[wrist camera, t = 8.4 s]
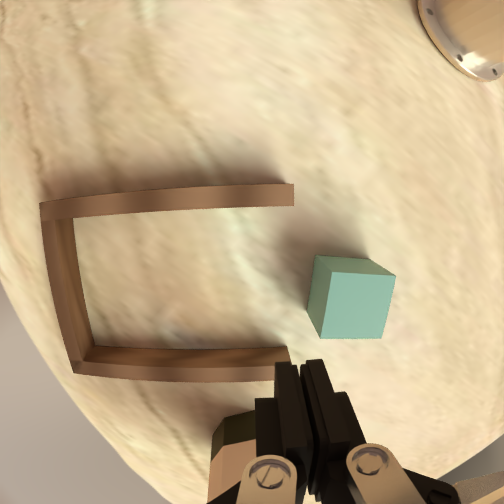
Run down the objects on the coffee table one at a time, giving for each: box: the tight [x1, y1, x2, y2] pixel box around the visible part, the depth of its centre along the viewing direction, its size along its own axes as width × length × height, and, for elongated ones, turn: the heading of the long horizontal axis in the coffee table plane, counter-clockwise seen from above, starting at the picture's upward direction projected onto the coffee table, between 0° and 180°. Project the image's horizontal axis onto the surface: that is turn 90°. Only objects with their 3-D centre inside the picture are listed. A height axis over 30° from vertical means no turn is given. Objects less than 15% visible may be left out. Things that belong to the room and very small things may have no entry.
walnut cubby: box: [39, 184, 294, 382], centre depth 24 cm, size 20×16×3 cm
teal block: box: [307, 255, 396, 339], centre depth 23 cm, size 5×5×5 cm
